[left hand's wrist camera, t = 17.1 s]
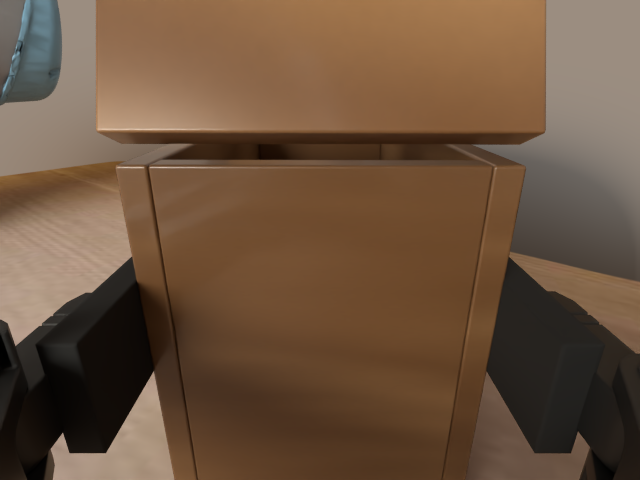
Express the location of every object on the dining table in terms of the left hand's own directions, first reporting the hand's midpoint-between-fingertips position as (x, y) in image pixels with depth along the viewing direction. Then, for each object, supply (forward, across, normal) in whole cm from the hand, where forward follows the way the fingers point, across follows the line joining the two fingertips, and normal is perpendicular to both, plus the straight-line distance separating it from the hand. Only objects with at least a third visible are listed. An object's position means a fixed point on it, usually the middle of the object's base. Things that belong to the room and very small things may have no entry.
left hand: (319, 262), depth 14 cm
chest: (+5, 0, -6) cm, 8 cm away
